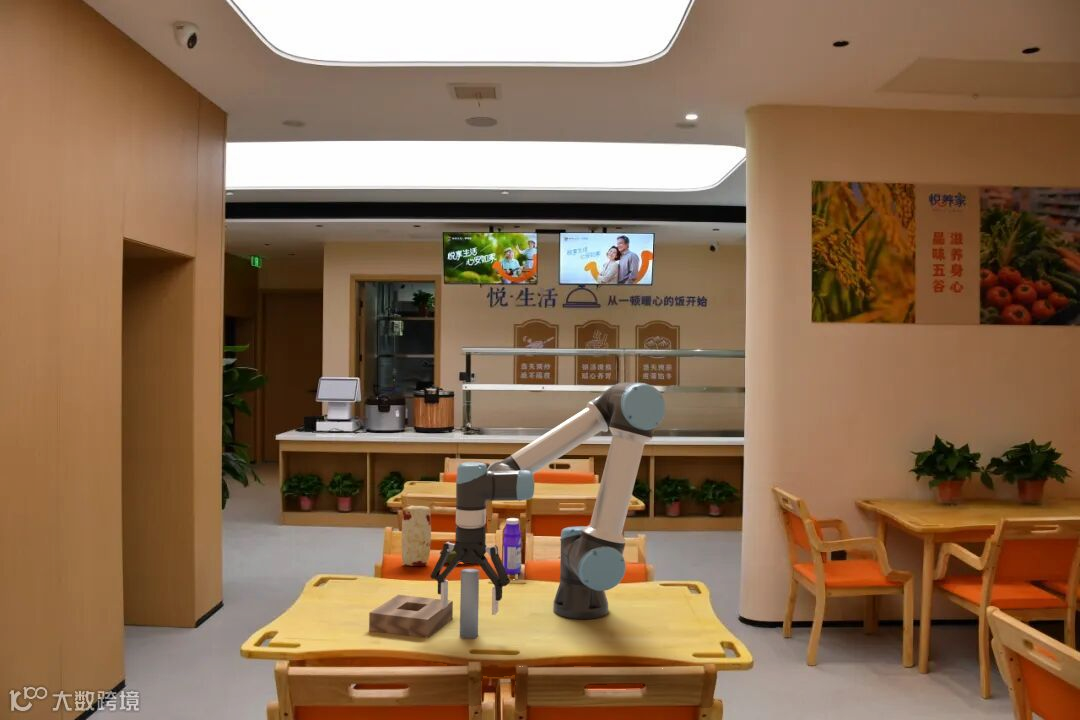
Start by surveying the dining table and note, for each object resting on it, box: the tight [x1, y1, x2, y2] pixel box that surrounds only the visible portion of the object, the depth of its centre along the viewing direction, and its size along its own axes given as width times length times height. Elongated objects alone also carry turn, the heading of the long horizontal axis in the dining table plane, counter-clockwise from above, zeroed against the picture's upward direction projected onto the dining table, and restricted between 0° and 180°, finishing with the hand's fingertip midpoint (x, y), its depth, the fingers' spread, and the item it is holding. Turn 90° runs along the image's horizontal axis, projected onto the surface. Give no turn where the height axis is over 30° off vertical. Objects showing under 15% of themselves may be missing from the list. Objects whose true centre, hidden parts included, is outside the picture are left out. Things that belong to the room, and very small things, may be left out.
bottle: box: [502, 517, 522, 576], centre depth 253 cm, size 7×6×17 cm
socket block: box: [368, 594, 454, 639], centre depth 202 cm, size 16×16×4 cm
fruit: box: [439, 548, 462, 565], centre depth 264 cm, size 11×12×7 cm
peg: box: [459, 568, 480, 640], centre depth 195 cm, size 4×4×16 cm
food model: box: [401, 505, 432, 567], centre depth 260 cm, size 10×7×20 cm
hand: (469, 610), depth 195 cm, fingers open, 13 cm apart
